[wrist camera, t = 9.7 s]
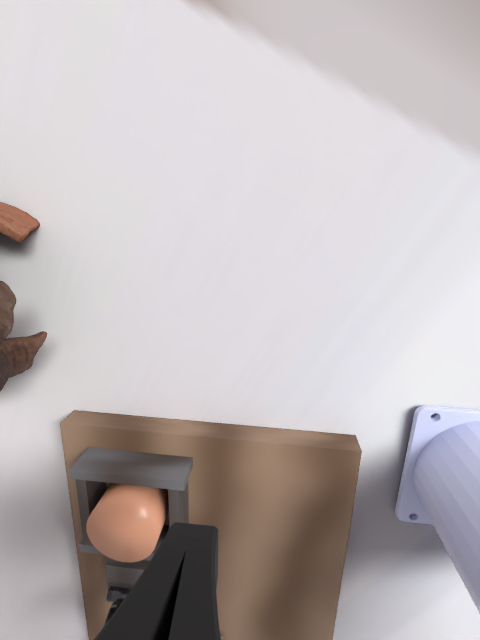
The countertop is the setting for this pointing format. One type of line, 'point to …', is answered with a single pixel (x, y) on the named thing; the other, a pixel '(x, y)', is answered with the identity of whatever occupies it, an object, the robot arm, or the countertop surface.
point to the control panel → (225, 513)
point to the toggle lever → (115, 599)
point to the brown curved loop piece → (15, 353)
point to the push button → (128, 521)
